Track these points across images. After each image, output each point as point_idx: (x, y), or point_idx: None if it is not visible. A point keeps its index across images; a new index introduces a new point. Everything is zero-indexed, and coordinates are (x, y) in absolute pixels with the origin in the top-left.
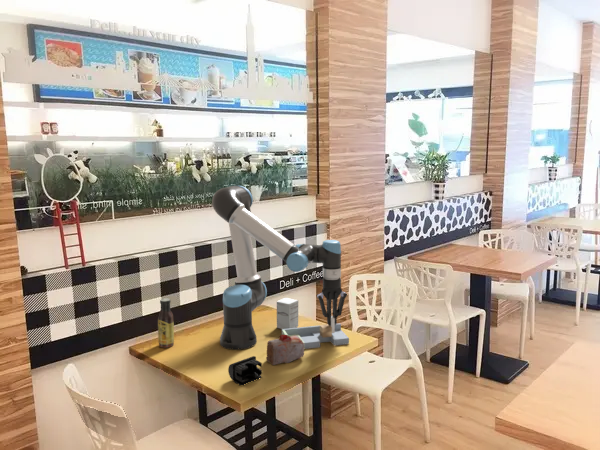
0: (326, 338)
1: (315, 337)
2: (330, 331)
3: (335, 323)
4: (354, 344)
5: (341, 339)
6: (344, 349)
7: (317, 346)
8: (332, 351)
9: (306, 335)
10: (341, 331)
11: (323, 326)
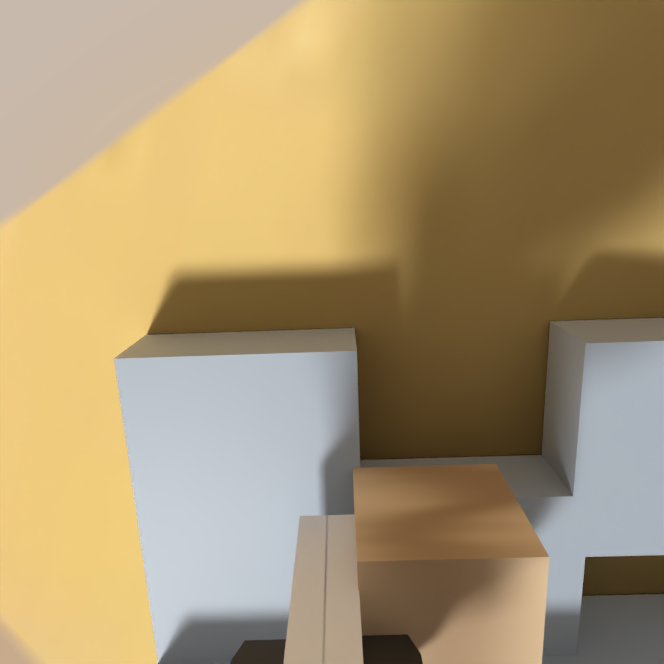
0: None
1: (595, 491)
2: (380, 515)
3: (258, 658)
4: (76, 300)
5: (237, 350)
6: (252, 168)
7: (590, 324)
8: (435, 139)
9: (638, 628)
10: (165, 605)
11: (497, 640)
